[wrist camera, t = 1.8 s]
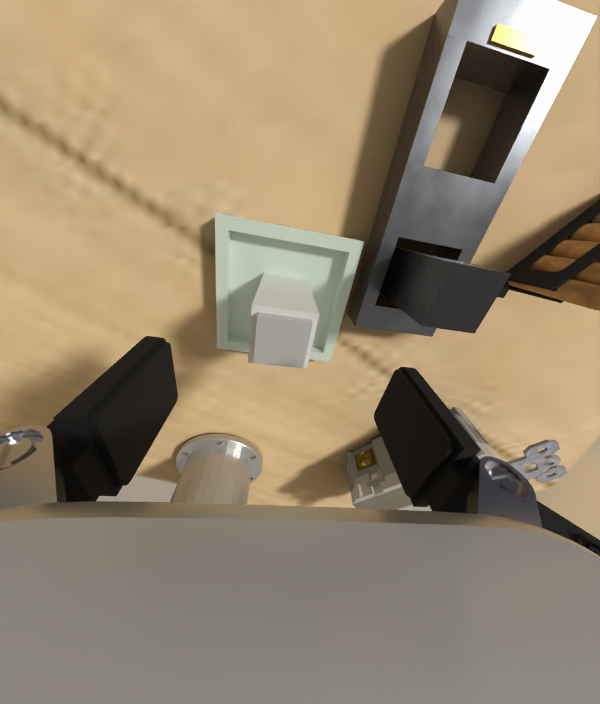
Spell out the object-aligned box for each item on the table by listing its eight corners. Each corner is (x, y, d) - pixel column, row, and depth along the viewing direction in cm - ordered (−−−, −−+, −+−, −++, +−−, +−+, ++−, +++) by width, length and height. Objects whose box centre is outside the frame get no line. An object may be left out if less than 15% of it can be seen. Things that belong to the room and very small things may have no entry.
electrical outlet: (512, 423, 34) (583, 495, 25) (349, 485, 43) (361, 553, 35) (491, 375, 29) (571, 446, 20) (312, 458, 38) (316, 529, 30)
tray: (327, 353, 26) (330, 361, 25) (221, 340, 25) (216, 348, 23) (358, 239, 20) (364, 241, 19) (220, 213, 19) (214, 212, 17)
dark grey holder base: (472, 332, 26) (552, 381, 18) (347, 314, 24) (377, 360, 16) (626, 80, 16) (943, -49, 8) (435, 12, 14) (619, -239, 6)
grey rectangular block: (299, 318, 23) (307, 374, 15) (260, 313, 23) (246, 367, 14) (307, 279, 21) (320, 317, 13) (264, 272, 21) (250, 308, 12)
